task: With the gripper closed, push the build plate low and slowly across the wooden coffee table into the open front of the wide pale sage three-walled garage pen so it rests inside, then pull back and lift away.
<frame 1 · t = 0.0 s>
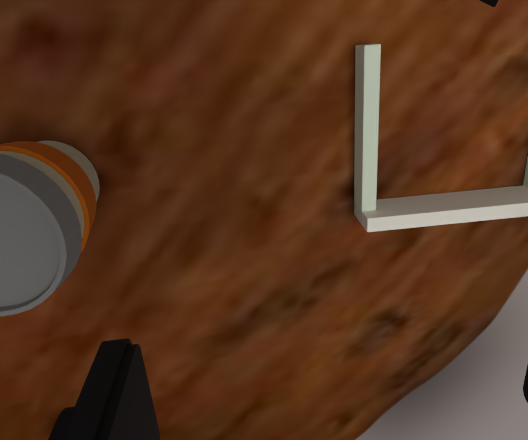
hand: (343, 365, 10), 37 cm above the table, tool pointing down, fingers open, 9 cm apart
reusable coffee cup: (55, 182, 45), on the table
garage pen: (450, 147, 47), on the table
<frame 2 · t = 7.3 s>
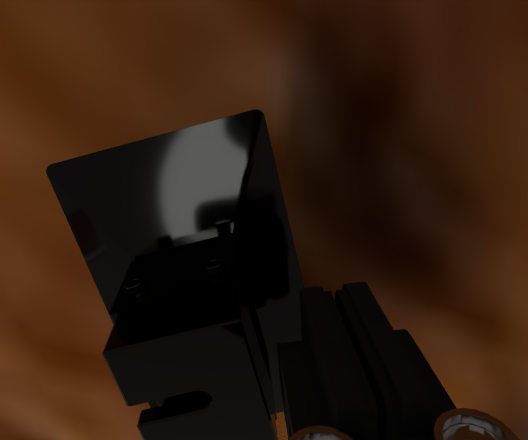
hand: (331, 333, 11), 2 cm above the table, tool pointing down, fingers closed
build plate: (206, 286, 14), on the table
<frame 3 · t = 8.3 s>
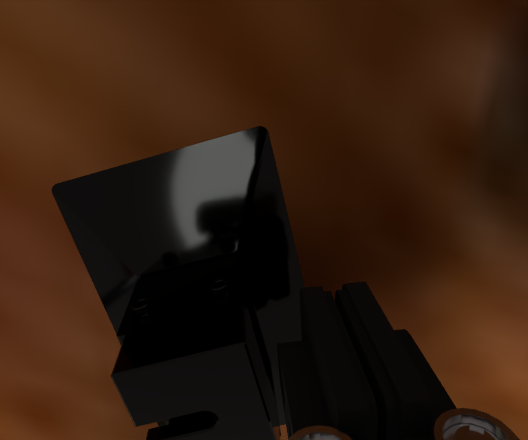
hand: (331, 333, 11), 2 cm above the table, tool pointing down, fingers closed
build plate: (210, 302, 14), on the table
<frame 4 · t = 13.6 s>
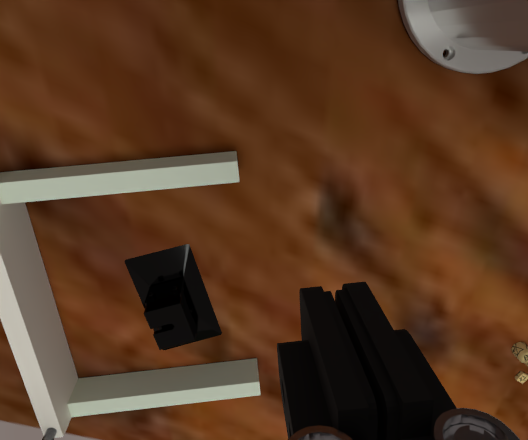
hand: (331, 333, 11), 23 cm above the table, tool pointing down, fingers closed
garage pen: (116, 286, 36), on the table
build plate: (176, 294, 38), on the table
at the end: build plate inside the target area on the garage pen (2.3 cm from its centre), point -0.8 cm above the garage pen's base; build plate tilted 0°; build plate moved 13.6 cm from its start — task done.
